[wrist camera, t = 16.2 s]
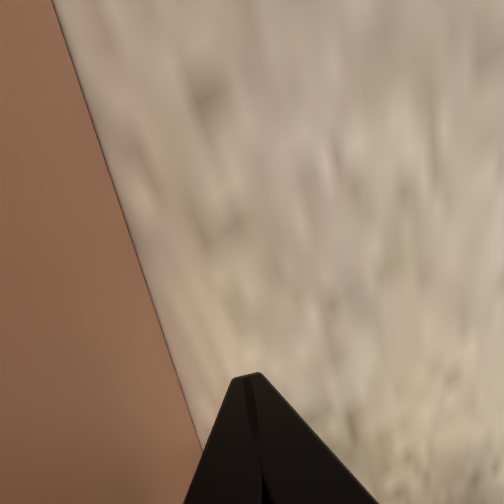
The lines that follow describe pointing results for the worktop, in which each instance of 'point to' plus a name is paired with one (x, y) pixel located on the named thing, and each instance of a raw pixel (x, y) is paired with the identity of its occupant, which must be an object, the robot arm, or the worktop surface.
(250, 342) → the worktop surface
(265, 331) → the worktop surface
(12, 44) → the tray
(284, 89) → the worktop surface
